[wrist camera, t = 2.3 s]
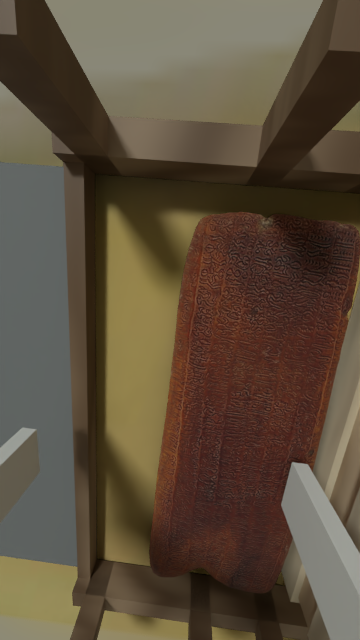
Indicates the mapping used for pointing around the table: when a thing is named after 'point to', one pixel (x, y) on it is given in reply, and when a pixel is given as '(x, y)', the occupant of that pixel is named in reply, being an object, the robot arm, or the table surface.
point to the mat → (37, 359)
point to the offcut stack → (335, 469)
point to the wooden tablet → (248, 389)
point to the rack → (189, 165)
